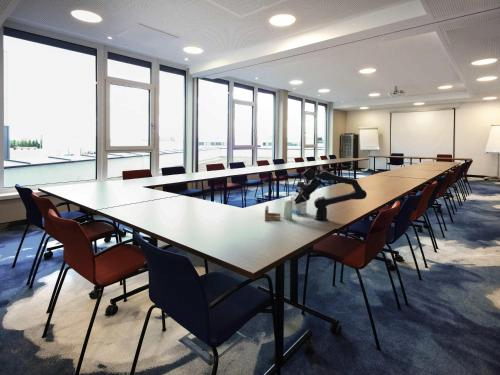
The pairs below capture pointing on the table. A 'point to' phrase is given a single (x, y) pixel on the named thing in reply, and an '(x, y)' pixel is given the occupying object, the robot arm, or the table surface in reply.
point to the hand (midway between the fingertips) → (294, 202)
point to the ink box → (298, 206)
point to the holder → (271, 215)
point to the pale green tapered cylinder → (288, 209)
